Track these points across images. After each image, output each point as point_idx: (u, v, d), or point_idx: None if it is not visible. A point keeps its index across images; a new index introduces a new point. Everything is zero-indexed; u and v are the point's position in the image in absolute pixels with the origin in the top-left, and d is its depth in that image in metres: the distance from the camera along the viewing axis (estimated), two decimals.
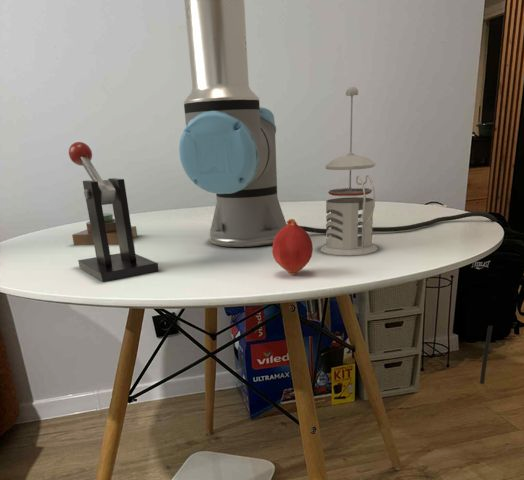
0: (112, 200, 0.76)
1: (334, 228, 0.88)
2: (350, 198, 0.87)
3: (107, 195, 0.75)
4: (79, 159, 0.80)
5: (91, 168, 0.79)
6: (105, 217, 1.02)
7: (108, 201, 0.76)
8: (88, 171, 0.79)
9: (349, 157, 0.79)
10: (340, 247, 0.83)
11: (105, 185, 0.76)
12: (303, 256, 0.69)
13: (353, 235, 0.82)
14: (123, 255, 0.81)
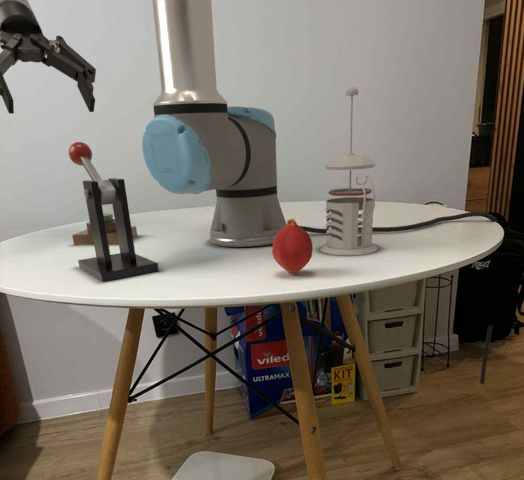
0: (112, 200, 0.76)
1: (334, 228, 0.88)
2: (350, 198, 0.87)
3: (107, 195, 0.75)
4: (79, 159, 0.80)
5: (91, 168, 0.79)
6: (105, 217, 1.02)
7: (108, 201, 0.76)
8: (88, 171, 0.79)
9: (349, 157, 0.79)
10: (340, 247, 0.83)
11: (105, 185, 0.76)
12: (303, 256, 0.69)
13: (353, 235, 0.82)
14: (123, 255, 0.81)
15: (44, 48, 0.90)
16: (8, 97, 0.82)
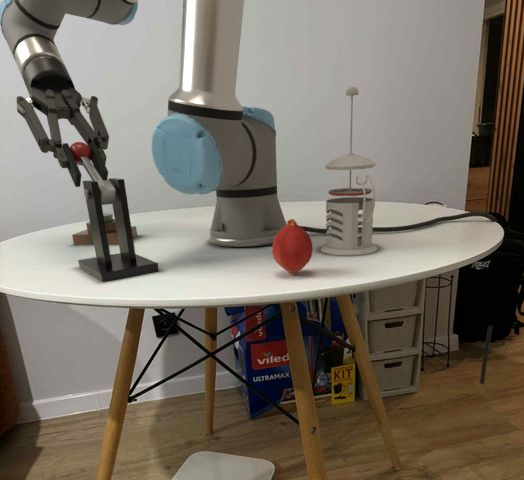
0: (112, 200, 0.76)
1: (334, 228, 0.88)
2: (350, 198, 0.87)
3: (107, 195, 0.75)
4: (79, 159, 0.80)
5: (91, 168, 0.79)
6: (105, 217, 1.02)
7: (108, 201, 0.76)
8: (88, 171, 0.79)
9: (349, 157, 0.79)
10: (340, 247, 0.83)
11: (105, 185, 0.76)
12: (303, 256, 0.69)
13: (353, 235, 0.82)
14: (123, 255, 0.81)
15: (77, 105, 0.84)
16: (76, 172, 0.78)
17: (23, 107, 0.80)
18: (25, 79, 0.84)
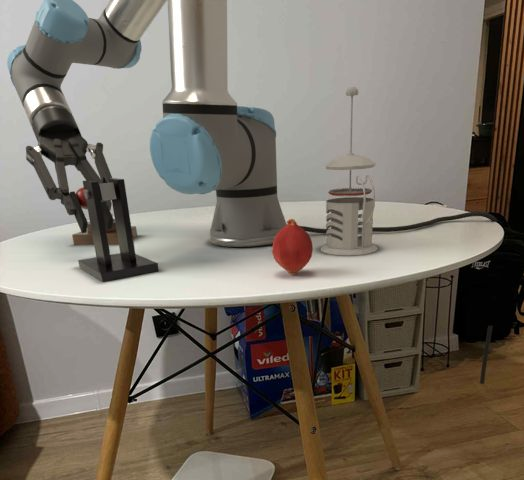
0: (112, 195, 0.76)
1: (334, 228, 0.88)
2: (350, 198, 0.87)
3: (106, 188, 0.75)
4: (84, 197, 0.84)
5: None
6: None
7: (108, 196, 0.75)
8: None
9: (349, 157, 0.79)
10: (340, 247, 0.83)
11: None
12: (303, 256, 0.69)
13: (353, 235, 0.82)
14: (123, 255, 0.81)
15: (83, 152, 0.88)
16: (83, 220, 0.82)
17: (32, 156, 0.84)
18: (33, 127, 0.88)
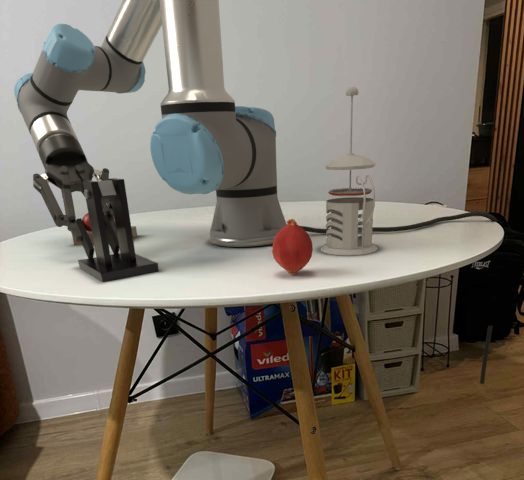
0: (112, 191, 0.75)
1: (334, 228, 0.88)
2: (350, 198, 0.87)
3: (105, 185, 0.75)
4: None
5: None
6: None
7: (108, 192, 0.75)
8: None
9: (349, 157, 0.79)
10: (340, 247, 0.83)
11: None
12: (303, 256, 0.69)
13: (353, 235, 0.82)
14: (123, 255, 0.81)
15: (89, 178, 0.89)
16: (89, 246, 0.83)
17: (39, 184, 0.85)
18: (40, 155, 0.89)
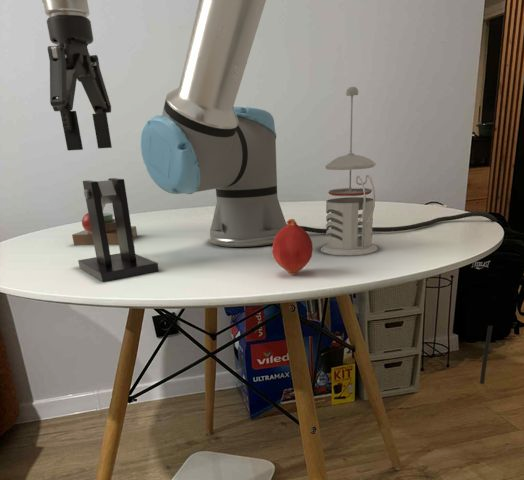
0: (112, 191, 0.75)
1: (334, 228, 0.88)
2: (350, 198, 0.87)
3: (105, 185, 0.75)
4: None
5: None
6: (105, 217, 1.02)
7: (108, 192, 0.75)
8: None
9: (349, 157, 0.79)
10: (340, 247, 0.83)
11: None
12: (303, 256, 0.69)
13: (353, 235, 0.82)
14: (123, 255, 0.81)
15: None
16: (80, 146, 0.92)
17: (60, 57, 0.86)
18: (60, 23, 0.87)
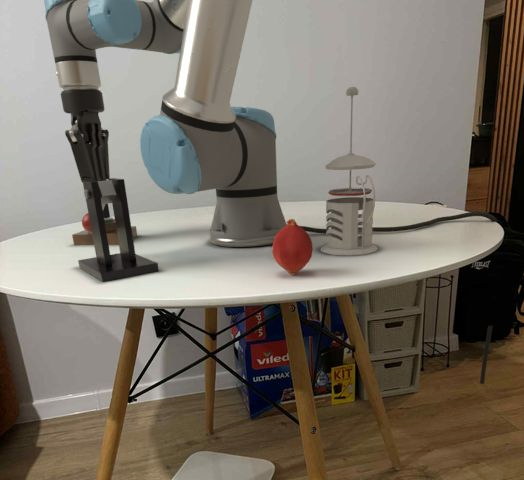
0: (112, 191, 0.75)
1: (334, 228, 0.88)
2: (350, 198, 0.87)
3: (105, 185, 0.75)
4: None
5: None
6: (106, 221, 1.02)
7: (108, 192, 0.75)
8: None
9: (349, 157, 0.79)
10: (340, 247, 0.83)
11: None
12: (303, 256, 0.69)
13: (353, 235, 0.82)
14: (123, 255, 0.81)
15: (101, 139, 1.00)
16: (106, 215, 1.03)
17: (79, 142, 0.93)
18: (74, 97, 0.91)
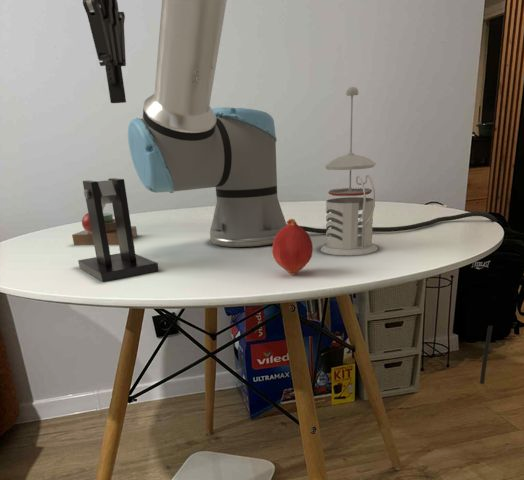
0: (112, 191, 0.75)
1: (334, 228, 0.88)
2: (350, 198, 0.87)
3: (105, 185, 0.75)
4: None
5: None
6: (105, 217, 1.02)
7: (108, 192, 0.75)
8: None
9: (349, 157, 0.79)
10: (340, 247, 0.83)
11: None
12: (303, 256, 0.69)
13: (353, 235, 0.82)
14: (123, 255, 0.81)
15: None
16: (122, 99, 1.01)
17: (96, 12, 0.92)
18: None
